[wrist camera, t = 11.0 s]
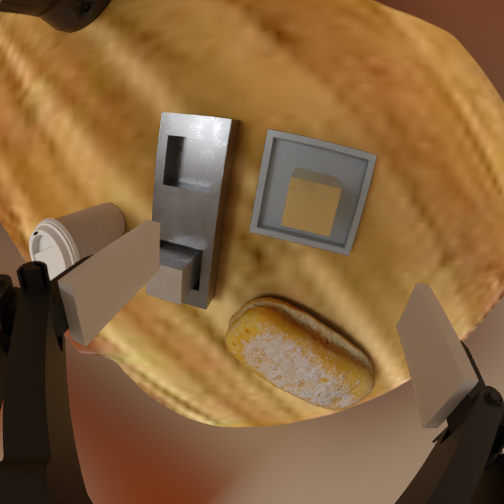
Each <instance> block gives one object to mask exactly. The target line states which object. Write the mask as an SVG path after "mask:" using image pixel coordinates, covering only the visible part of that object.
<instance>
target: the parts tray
mask: <svg viewBox="0 0 504 504" xmlns="http://www.w3.org/2000/svg"><path fill="white" fill-rule="evenodd" d="M376 158H377V155H374V154H371V153H368V152H364V151H361V150H357V149H354V148H350V147H347V146H343V145H339V144H335V143H331V142H327V141H323V140H319V139H315V138H310V137H306V136H301V135H297V134H292V133H287V132H282V131H277V130H271V129H268V131H267V136H266V142H265V147H264V153H263V158H262V164H261V169H260V175H259V180H258V186H257V191H256V197H255V203H254V208H253V214H252V219H251V225H250V231H249V232H252V233H257V234H261V235H265V236H269V237H274V238H278V239H282V240H286V241H290V242H294V243H299V244H303V245H307V246H311V247H315V248H319V249H323V250H327V251H331V252H335V253H339V254H343V255H347V256H349V254H350V251H351V248H352V245H353V242H354V238H355V235H356V232H357V229H358V225H359V222H360V218H361V215H362V211H363V208H364V204H365V201H366V197H367V193H368V190H369V186H370V182H371V178H372V174H373V170H374V166H375V162H376ZM295 168H300V169H305V170H309V171H313V172H318V173H322V174H326V175H330V176H334V177H336V179H337V181H338V183H339V185H340V187H341V189H342V190H341V194H340V198H339V202H338V206H337V209H336V213H335V217H334V221H333V225H332V228H331V232H330V235H329V237H328V236H324V235H320V234H316V233H311V232H307V231H303V230H299V229H295V228H291V227H286V226H282V225H281V222H282V217H283V212H284V208H285V203H286V198H287V193H288V188H289V184H290V179H291V176H292V174H293V172H294V170H295Z"/></svg>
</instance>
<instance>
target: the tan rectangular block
mask: <svg viewBox="0 0 504 504" xmlns="http://www.w3.org/2000/svg"><path fill="white" fill-rule="evenodd" d="M341 190H342V189H341V187H340V185H339V183H338V181H337V179H336V177H334V176H330V175H326V174H322V173H318V172H313V171H309V170H305V169H300V168H295V170H294V172H293V174H292V176H291V179H290V184H289V188H288V193H287V198H286V203H285V208H284V212H283V217H282V222H281V225H282V226H286V227H291V228H295V229H299V230H303V231H307V232H311V233H316V234H320V235H324V236H328V237H329V235H330V232H331V228H332V225H333V221H334V217H335V213H336V209H337V206H338V202H339V198H340V194H341Z"/></svg>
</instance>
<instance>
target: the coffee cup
mask: <svg viewBox="0 0 504 504" xmlns="http://www.w3.org/2000/svg"><path fill="white" fill-rule="evenodd" d="M124 231H125V220H124V217H123V214H122V212H121V211H120V210H119V208H118V207H117V206H115V205H114V204H111V203H103V204H100V205H97V206H93V207H90V208H87V209H84V210H81V211H78V212H75V213H71V214H68V215H65V216H62V217H59V218H56V219H52V218H46V219H44V220H42V221H41V222H40V223H39V224H38V225H37V226H36V228H35V230H34V232H33V233H32V234H31V236H30V240H29V250H30V255H31V259H32V261H41V262H44V263H45V264H47V268H48V273H49V278H50V281H51V280H52V279H53V278H55V277H56V276H57V275H59V274H60V273H62V272H63V271H64V270H66V269H68V268H69V267H70V266H72V265H74V264H75V263H76V262H77V261H79V260H80V259H82V258H84V257H87V256H90V255H92V254H93V255H94V254H96V253H97V252H99V251H100V250H102V249H103V248H105V247H106V246H108V245H109V244H111V243H112V242H114V241H115V240H117V239H118V238H120V237H121V236H122V235H123V234H124Z"/></svg>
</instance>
